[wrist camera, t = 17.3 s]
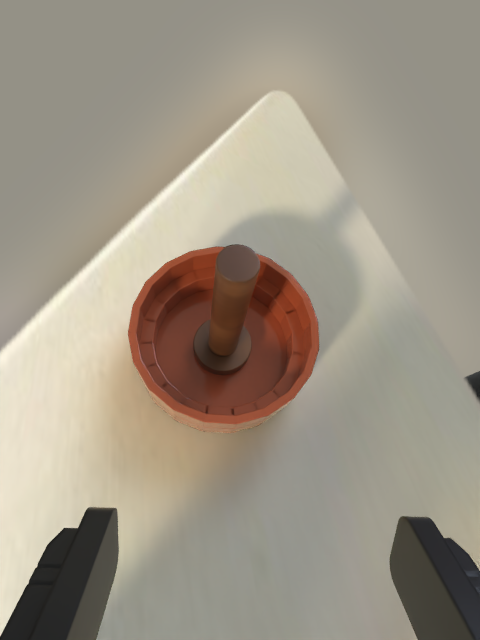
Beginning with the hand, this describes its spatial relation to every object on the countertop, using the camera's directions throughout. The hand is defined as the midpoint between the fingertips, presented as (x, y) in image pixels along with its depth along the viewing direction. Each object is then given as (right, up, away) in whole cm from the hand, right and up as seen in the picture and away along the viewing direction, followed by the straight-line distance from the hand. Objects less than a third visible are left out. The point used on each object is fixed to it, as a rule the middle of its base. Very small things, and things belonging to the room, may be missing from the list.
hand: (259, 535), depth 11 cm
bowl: (-2, +4, +23) cm, 23 cm away
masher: (-2, +4, +22) cm, 23 cm away
